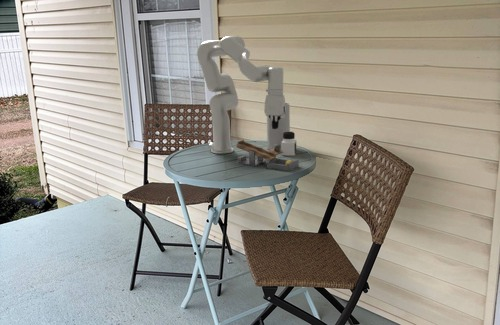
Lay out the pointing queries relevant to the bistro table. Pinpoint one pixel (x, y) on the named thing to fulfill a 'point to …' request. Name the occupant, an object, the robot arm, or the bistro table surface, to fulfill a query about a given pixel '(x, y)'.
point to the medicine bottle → (288, 144)
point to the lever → (260, 150)
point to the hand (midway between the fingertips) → (275, 128)
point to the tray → (282, 164)
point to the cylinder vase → (278, 130)
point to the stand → (250, 159)
